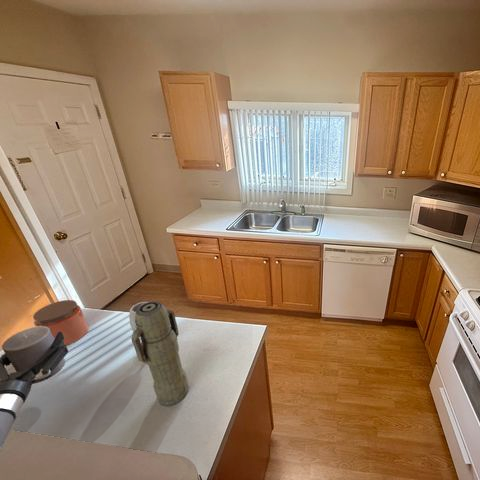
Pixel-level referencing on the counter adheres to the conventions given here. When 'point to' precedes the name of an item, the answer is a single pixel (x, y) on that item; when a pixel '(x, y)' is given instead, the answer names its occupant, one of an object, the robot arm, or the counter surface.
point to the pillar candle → (30, 348)
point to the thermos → (160, 351)
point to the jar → (63, 320)
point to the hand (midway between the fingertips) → (39, 340)
